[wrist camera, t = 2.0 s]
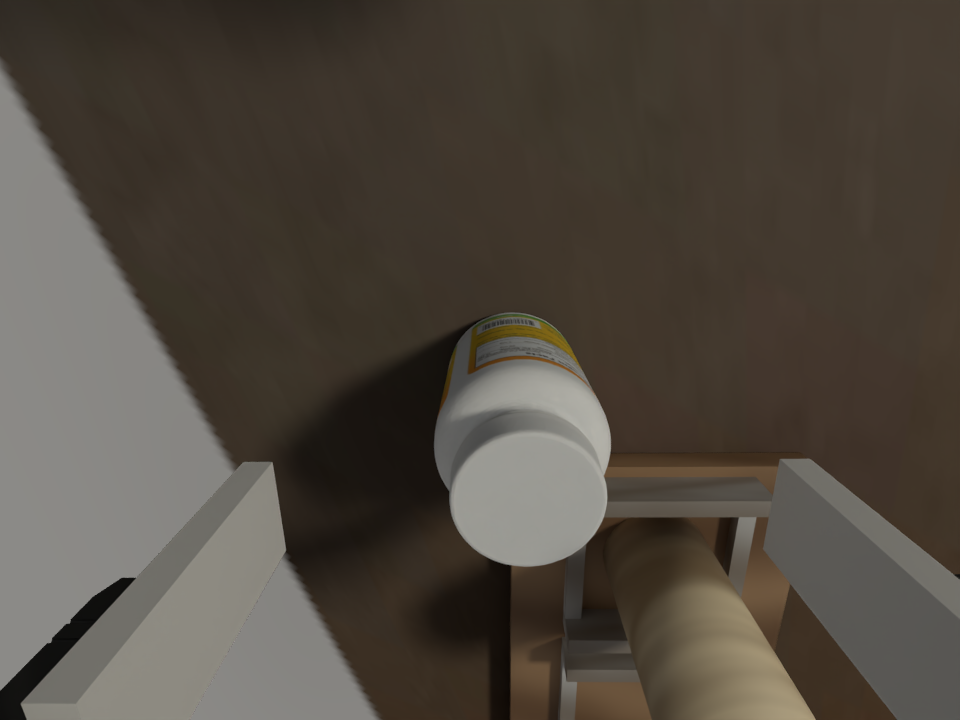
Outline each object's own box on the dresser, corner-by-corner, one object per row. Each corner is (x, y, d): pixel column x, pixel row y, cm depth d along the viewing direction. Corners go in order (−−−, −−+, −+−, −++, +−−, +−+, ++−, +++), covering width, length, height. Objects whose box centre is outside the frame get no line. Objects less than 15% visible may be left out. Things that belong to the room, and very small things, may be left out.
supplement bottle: (512, 449, 23) (528, 624, 14) (423, 373, 22) (376, 507, 13) (600, 368, 22) (683, 501, 12) (510, 282, 21) (528, 360, 11)
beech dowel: (606, 510, 23) (678, 706, 14) (710, 510, 22) (846, 707, 14) (600, 593, 24) (661, 815, 16) (697, 593, 24) (813, 817, 15)
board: (511, 453, 23) (514, 491, 20) (800, 452, 23) (844, 490, 20) (509, 733, 29) (511, 793, 26) (739, 735, 29) (767, 796, 26)
